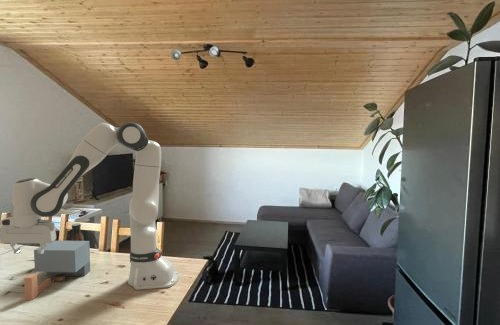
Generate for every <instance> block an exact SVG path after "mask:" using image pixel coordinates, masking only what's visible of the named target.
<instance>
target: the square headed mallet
mask: <svg viewBox="0 0 500 325" xmlns="http://www.w3.org/2000/svg"><path fill="white" fill-rule="evenodd" d="M23 280H24V281H23V282H24V284H23V285H24V300H26V301H27V300H32V301H33V300H34V299H36V298H38V296H39V294H40V293H41V292H42V291H43V290H45V289H46V288H48V287H49V286H50V285H51V284H52V283H51V281H52V280H51V277H48V278H46V279H45V280H43V281H42V282H40V283H39V284H38V274H37V273H35V274H32V273H31V274H28V275H26V276H25V277H24V278H23Z"/></svg>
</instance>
